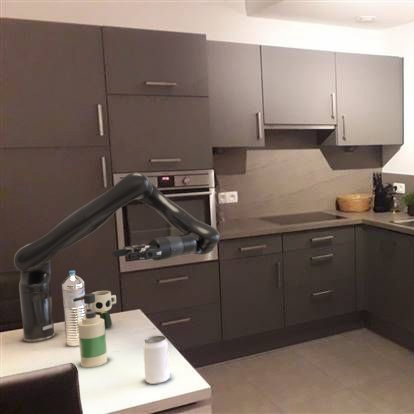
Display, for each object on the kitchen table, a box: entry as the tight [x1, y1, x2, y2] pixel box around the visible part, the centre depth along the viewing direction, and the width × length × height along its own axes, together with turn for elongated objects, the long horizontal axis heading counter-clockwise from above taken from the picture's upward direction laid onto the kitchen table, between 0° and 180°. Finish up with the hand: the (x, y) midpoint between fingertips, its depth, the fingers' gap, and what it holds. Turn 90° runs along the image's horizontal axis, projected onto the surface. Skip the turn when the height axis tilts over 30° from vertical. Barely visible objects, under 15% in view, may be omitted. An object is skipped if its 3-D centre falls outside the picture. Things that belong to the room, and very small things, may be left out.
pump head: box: [73, 292, 95, 308], centre depth 165 cm, size 6×3×4 cm, turn 142°
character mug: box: [86, 290, 117, 328], centre depth 200 cm, size 11×7×13 cm, turn 134°
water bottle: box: [61, 270, 88, 347], centre depth 184 cm, size 7×7×25 cm
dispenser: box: [78, 310, 108, 368], centre depth 167 cm, size 7×7×16 cm
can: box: [142, 335, 171, 385], centre depth 155 cm, size 6×6×12 cm
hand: (120, 255), depth 174 cm, fingers open, 8 cm apart
